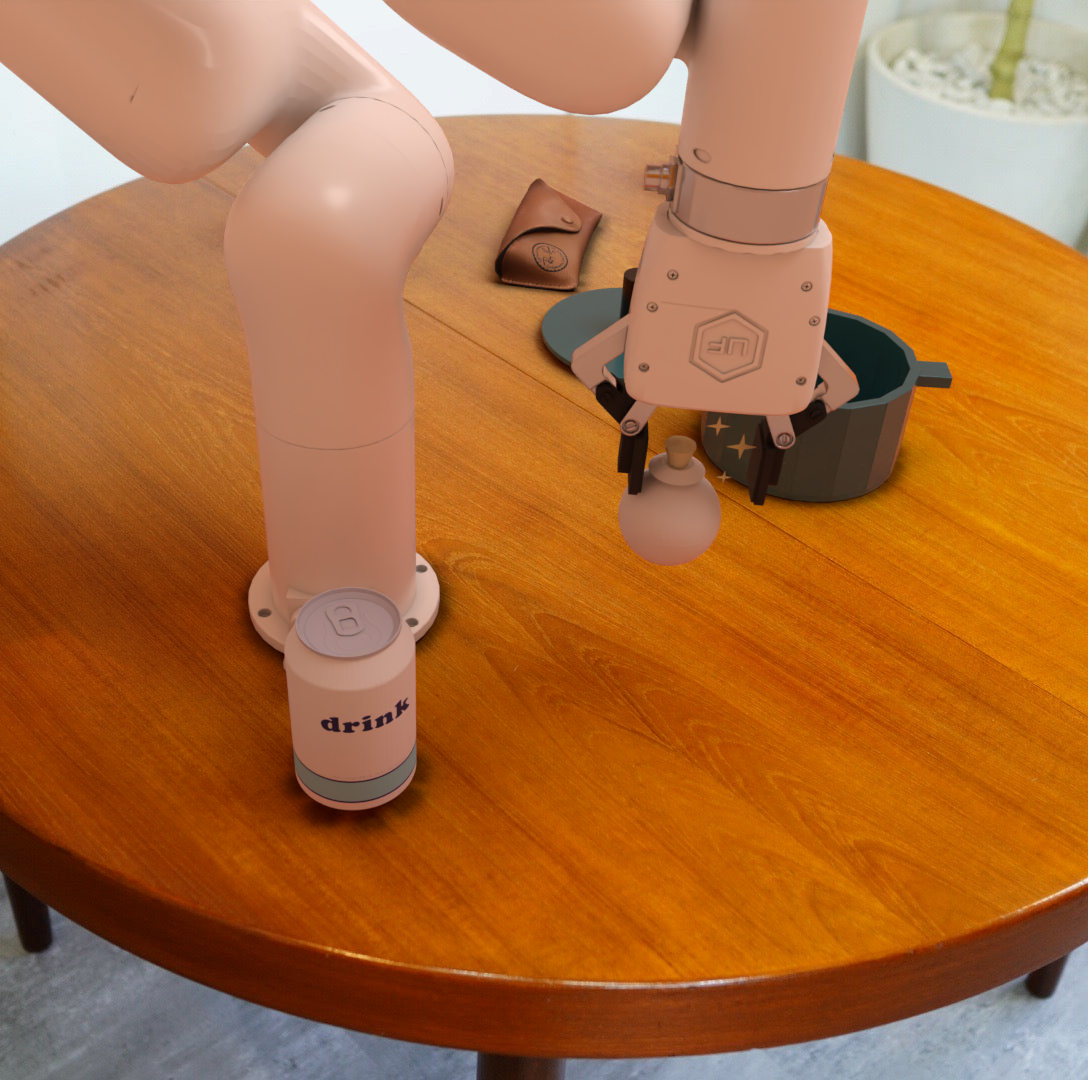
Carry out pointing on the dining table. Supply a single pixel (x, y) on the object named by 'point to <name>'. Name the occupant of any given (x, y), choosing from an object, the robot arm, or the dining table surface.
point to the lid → (587, 320)
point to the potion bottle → (673, 506)
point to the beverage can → (352, 698)
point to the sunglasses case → (546, 240)
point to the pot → (840, 419)
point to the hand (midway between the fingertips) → (694, 484)
